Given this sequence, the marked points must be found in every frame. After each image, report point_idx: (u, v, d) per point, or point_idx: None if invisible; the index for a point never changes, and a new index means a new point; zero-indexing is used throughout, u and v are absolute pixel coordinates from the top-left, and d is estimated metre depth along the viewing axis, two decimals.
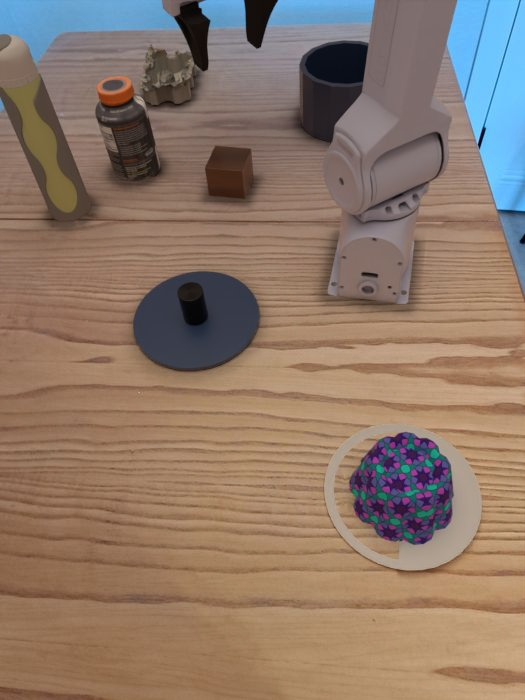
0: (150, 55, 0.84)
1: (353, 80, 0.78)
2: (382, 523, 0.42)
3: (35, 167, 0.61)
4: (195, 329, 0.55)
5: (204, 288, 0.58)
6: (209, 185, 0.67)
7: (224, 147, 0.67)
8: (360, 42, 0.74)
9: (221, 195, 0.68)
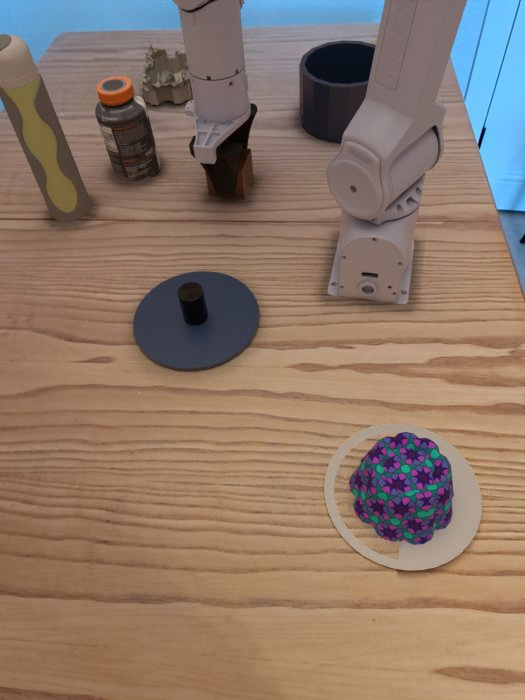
0: (150, 55, 0.84)
1: (353, 80, 0.78)
2: (382, 523, 0.42)
3: (35, 167, 0.61)
4: (195, 329, 0.55)
5: (204, 288, 0.58)
6: (209, 185, 0.67)
7: None
8: (360, 42, 0.74)
9: (221, 195, 0.68)
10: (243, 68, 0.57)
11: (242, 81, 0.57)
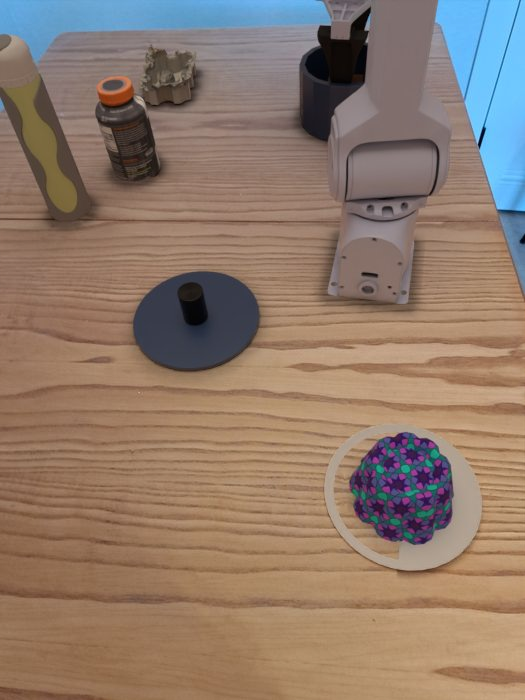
0: (150, 55, 0.84)
1: None
2: (382, 523, 0.42)
3: (35, 167, 0.61)
4: (195, 329, 0.55)
5: (204, 288, 0.58)
6: None
7: None
8: None
9: None
10: None
11: None
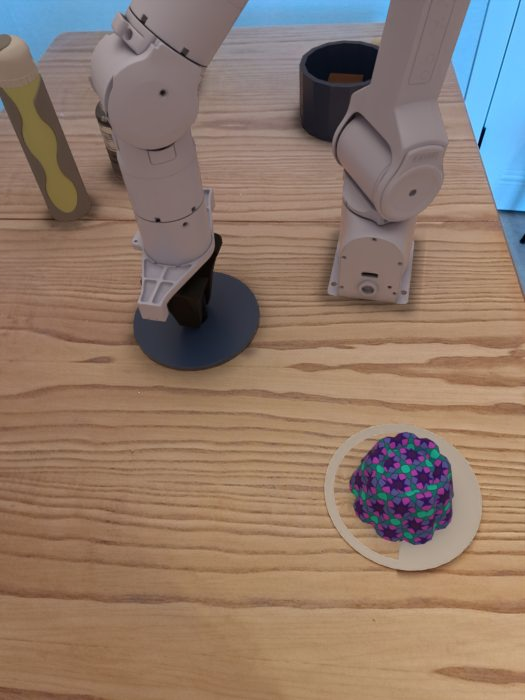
0: None
1: None
2: (382, 523, 0.42)
3: (35, 167, 0.61)
4: (195, 329, 0.55)
5: None
6: None
7: (339, 74, 0.75)
8: (360, 42, 0.74)
9: None
10: (201, 203, 0.44)
11: (201, 218, 0.45)
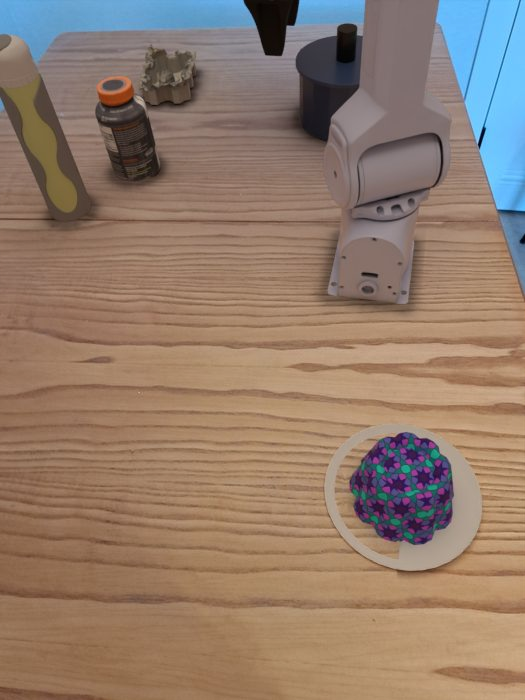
0: (150, 55, 0.84)
1: None
2: (382, 523, 0.42)
3: (35, 167, 0.61)
4: (347, 65, 0.70)
5: None
6: None
7: None
8: None
9: None
10: None
11: None
